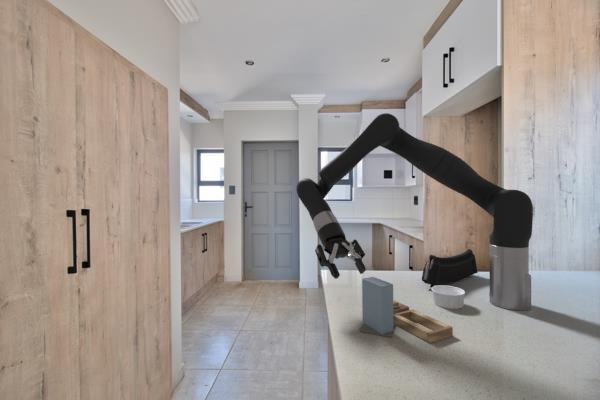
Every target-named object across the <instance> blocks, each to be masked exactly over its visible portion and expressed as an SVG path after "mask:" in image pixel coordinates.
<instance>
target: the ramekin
mask: <svg viewBox="0 0 600 400" xmlns="http://www.w3.org/2000/svg"><path fill="white" fill-rule="evenodd" d="M430 289H431V293H432V301H433V303H434V305H435V306H438V307H440V308H443V309H450V310H458V309H459V308H460V309H462V308H463V307H464V305H465V295H466V291H465V290H464V289H463V288H460V287H456V286H452V285H448V284H444V285H434V286H433V287H430Z"/></svg>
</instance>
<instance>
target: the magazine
mask: <svg viewBox="0 0 600 400" xmlns="http://www.w3.org/2000/svg"><path fill="white" fill-rule="evenodd" d="M424 265H425V266H424V267H423V268H422V270H423V271H422V274H421V275H422V276H421V281H422V282H423V283H424V284H427V285H430V288H432V287H433V286H438V285H452V284H455V283H458V282H462V281H463V280H466V279H468V278H470V277H472V276H474V275H475V274H478V267H477V260H476V255H475V254H474V253H473V250H472V249H469V248H468V249H467V250H465V251H464V252H462V253H460V254H459V253H458V254H456V255H452V256H448V257H447V256H445V257H441V256H436V255H435V254H434V255H433V254H430V255H429V256H428V259H427V260H426V263H425V264H424Z"/></svg>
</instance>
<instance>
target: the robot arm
mask: <svg viewBox="0 0 600 400" xmlns="http://www.w3.org/2000/svg"><path fill="white" fill-rule="evenodd" d="M379 147H381V148H383V149H386V150H388V151H389V152H392V153H394V154H396V155H398V156H399V157H401V158H403V159H405V160H406V161H407V162H408V163H410V164H411V165H412V166H413V167H415V168H416V169H418V170H419V171H420V172H422V173H423V174H425V175H426V176H427V177H430V178H431V179H433V180H434V181H436V182H437V183H440V184H441V185H442V186H445V187H446V188H448V189H450V190H452V191H454V192H456V193H458V194H460V195H462V196H464V197H465V198H467V199H469V200H471V201H472V202H474V203H475V205H477V206H478V207H480V208H481V209H483V210H484V211H485V212H486V213H488V214H489V215H490V216H491V217H493V225H492V226H493V227H492V231H491V234H489V293H488V295H489V303H490V304H492V305H494V306H496V307H500V308H501V309H502V308H503V309H506V310H507V309H508V310H512V311H513V310H515V311H523V310H527V311H529V310H530V311H532V275H531V274H530V270H529V268H530V267H529V265H530V263H529V262H530V254H529V253H530V252H529V251H530V250H529V249H530V248H529V247H530V241H531V238H532V235H533V221H534V220H533V217H534V207H533V201H532V200H531V197H530V196H529V195H528V194H527V193H526V192H524V191H522V190H518V189H506V188H504V187H500V186H499V185H497V184H495V183H493V182H491V181H489V180H487V179H486V178H484V177H483V176H482V175H480V174H479V173H478V172H477V171H475V169H474V168H473V167H471V165H469V164H468V162H466V161H465V160H463V159H462V158H461V157H459V156H458V155H456V154H454V153H452V152H451V151H449V150H448V149H446V148H444V147H441V146H440V145H436V144H433V143H430V142H427V141H425V140H421V139H419V138H417V137H415V136H413V135H411V134H410V133H408V132H407V131H406V130H404V129H403V128H402V127H400V123H399V120H398V118H397V117H396V116H395V115H393V114H391V113H385V112H384V113H380V114H378V115H377V116H375V117H374V118H373V119H372V121H371V122H370V123H369V124H368V125H367V126H366V127H365V129H364V130H362V132H361V133H360V134H359V135H358V136H357V137H356V138H355V139H354V140H353V141H352V142H351V143H350V144H349V145H347V147H345V149H343V150H342V151H341V152H340V153H338V154H337V155H336V156H335V157H334V158H332V159H331V160H330V161H329V162H328V163H326V164H325V165H324V166H323V167H322V168H321V169H320V170H319V171H318V175H319V178H320V179H319V180H318V181H317V182H315V180H312V178H308V177H307V178H306V177H305V178H301V179H300V180H299V181H298V182H297V184H296V193H297V196H298V198H299V200H300V201H301V203H302V205H303V206H304V207H305V208H306V210H307V212H308V214H309V216H310V218H311V221H312V223H313V226H314V230H315V231H316V234H317V236H318V238H319V240H320V243H321V244H317V246H316V247H315V251H314V252H315V255H316V256H317V260H318V262H319V265H320V267H326V268H327V269H328V270H329V273H330V275H331V276H332V278H334V279H335V280H337V279H339V277H340V275H341V274H340V272H339V270H338V267H337V265H336V263H334V261H335V260H337V259H340V258H341V259H342V258H343V259H344V258H346V259H348V260H352V262H354V265H355V267H356V268H357V271H358V273H359V275H362V274H364V273H365V272H366V266H365V263H364V262H363V261H362V260H363V259H364V257H365V256H366V253H365V251H364V250H363V248H362V246H361V245H360V243H359V242H358V240H357V239H353V240H352V241H348V240H347V238H346V234H345V232H344V231H343V228H342V226H341V224H340V223H339V221H338V218H337V217H336V215H335V214H334V213H333V211H332V209H331V207H330V205H329V204H328V202H327V201H326V200H325V198H326V197H327V196H328V194H329V192H331V190H332V189H333V187H334V186H335V185H336V184H337V183H338V182H340V181H341V180H342V179H344V177H346V176H348V174H349V173H350V172H352V170H353V169H354V168H355V167H357V165H358V164H359V163H360V162H361V161H362V160H363V159H364V158H365V157H366V156H367V155H368V154H370V153H371V152H373V151H374V150H375V149H377V148H379ZM325 253H327V254H328V257H326V254H325ZM349 253H350V254H349Z"/></svg>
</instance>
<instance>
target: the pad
mask: <svg viewBox="0 0 600 400" xmlns="http://www.w3.org/2000/svg"><path fill="white" fill-rule="evenodd" d="M394 328H395V324H394V323H393V329H394ZM359 332H360V333H364V334H371V335H376V336H382V337H386V338H392V336H393V332H394V330H393V331H391V332H388V333H384V334H381V333H379V332H378V331H376V330H374V329H373V328H371V327H369V326H368V325H366V324H364V323H363V324H362V326H361V328H360V331H359Z"/></svg>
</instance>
